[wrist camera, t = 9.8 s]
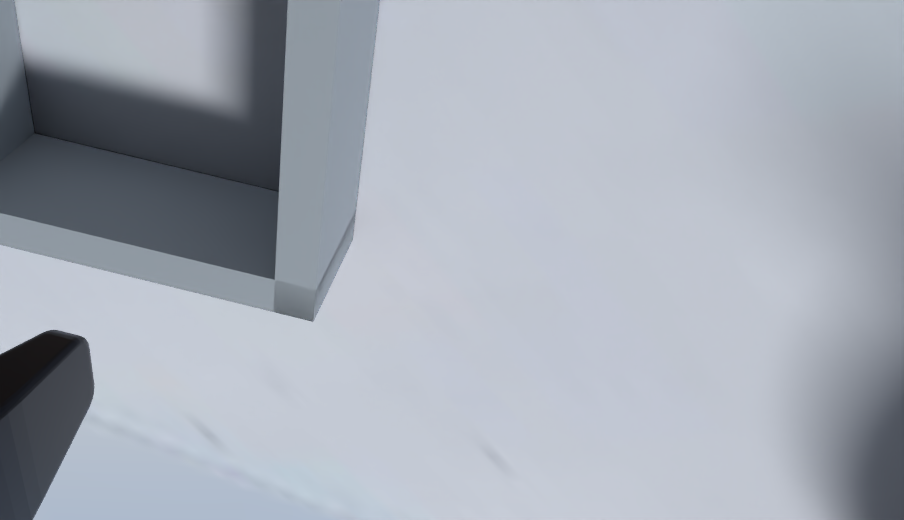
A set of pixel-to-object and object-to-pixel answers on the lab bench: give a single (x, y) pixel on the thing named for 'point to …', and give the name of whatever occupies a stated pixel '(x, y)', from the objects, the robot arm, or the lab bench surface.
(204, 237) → the shelf lane
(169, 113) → the lab bench surface
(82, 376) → the robot arm
